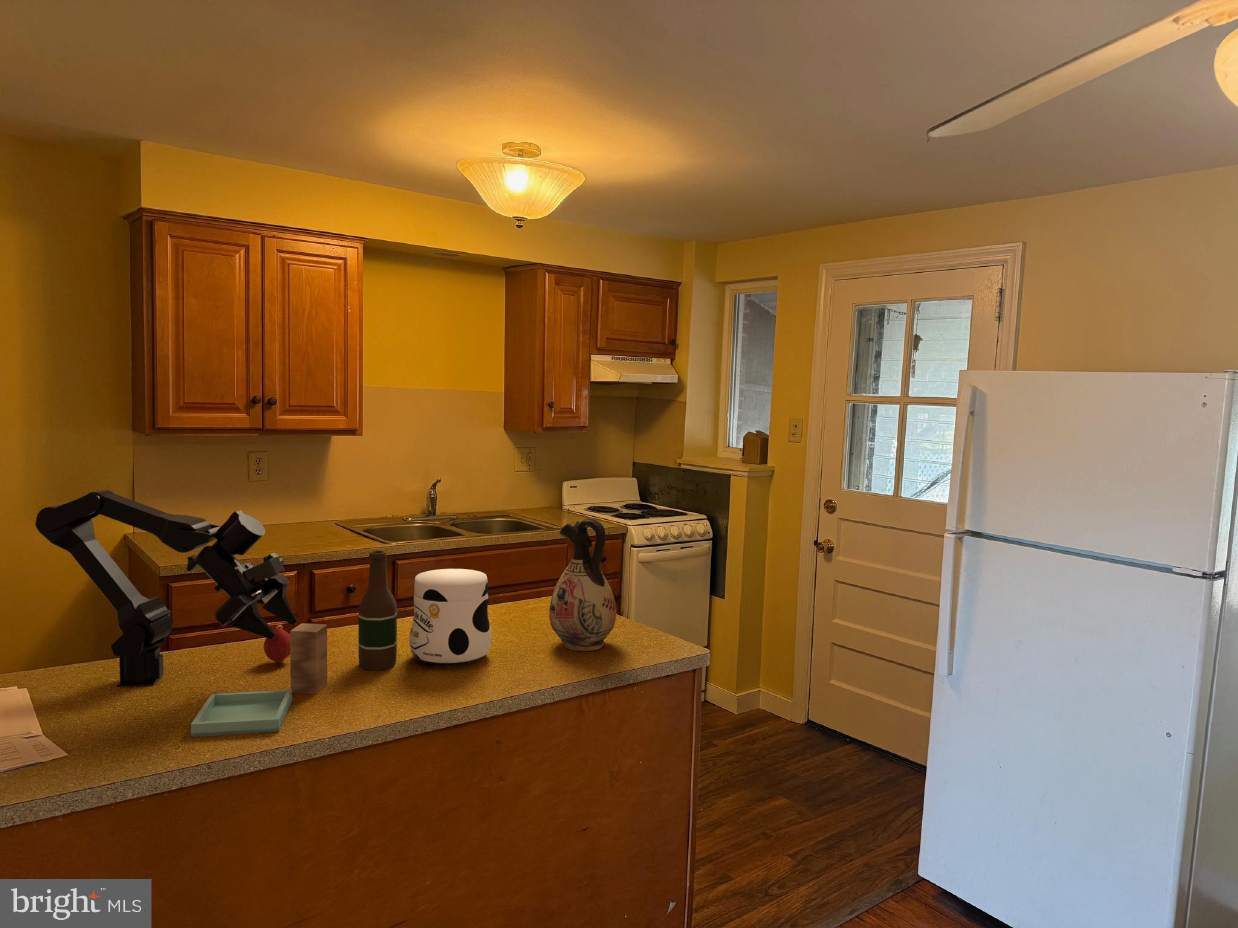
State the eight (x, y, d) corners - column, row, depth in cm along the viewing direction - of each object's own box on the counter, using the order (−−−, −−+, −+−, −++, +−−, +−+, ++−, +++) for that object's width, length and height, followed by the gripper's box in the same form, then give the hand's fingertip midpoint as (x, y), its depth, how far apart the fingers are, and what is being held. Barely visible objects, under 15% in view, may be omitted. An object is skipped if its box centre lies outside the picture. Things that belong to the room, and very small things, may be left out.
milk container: (392, 664, 175) (392, 580, 173) (439, 641, 191) (440, 564, 189) (463, 677, 168) (464, 589, 166) (506, 652, 184) (507, 572, 182)
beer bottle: (404, 661, 176) (405, 550, 174) (382, 673, 169) (382, 556, 167) (373, 656, 179) (373, 546, 177) (350, 668, 172) (350, 553, 169)
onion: (283, 668, 170) (282, 630, 169) (257, 666, 171) (257, 628, 170) (299, 659, 176) (299, 622, 175) (275, 657, 177) (274, 620, 176)
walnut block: (290, 692, 157) (290, 630, 156) (302, 683, 162) (301, 623, 161) (316, 694, 157) (316, 631, 156) (327, 684, 162) (326, 624, 161)
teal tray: (191, 737, 137) (190, 724, 137) (211, 705, 150) (211, 693, 150) (279, 731, 140) (279, 718, 140) (291, 701, 153) (291, 689, 153)
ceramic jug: (533, 645, 190) (536, 515, 187) (580, 631, 201) (583, 509, 198) (588, 663, 179) (592, 525, 176) (634, 647, 190) (638, 517, 187)
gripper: (230, 552, 148) (291, 615, 149) (278, 534, 167) (333, 589, 167) (188, 594, 149) (249, 656, 150) (241, 571, 168) (295, 626, 168)
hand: (284, 630), depth 159 cm, fingers open, 9 cm apart
